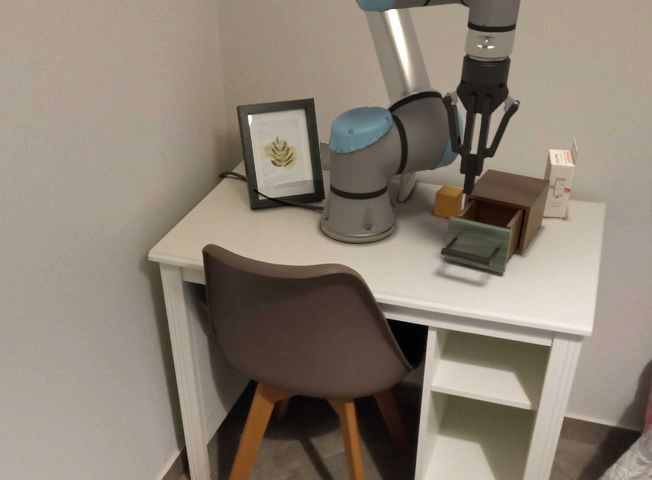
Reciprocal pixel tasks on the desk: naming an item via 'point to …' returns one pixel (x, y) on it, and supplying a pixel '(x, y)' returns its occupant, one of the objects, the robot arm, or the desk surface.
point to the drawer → (484, 235)
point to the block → (448, 201)
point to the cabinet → (514, 198)
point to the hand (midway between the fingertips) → (468, 190)
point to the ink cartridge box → (559, 180)
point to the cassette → (406, 185)
